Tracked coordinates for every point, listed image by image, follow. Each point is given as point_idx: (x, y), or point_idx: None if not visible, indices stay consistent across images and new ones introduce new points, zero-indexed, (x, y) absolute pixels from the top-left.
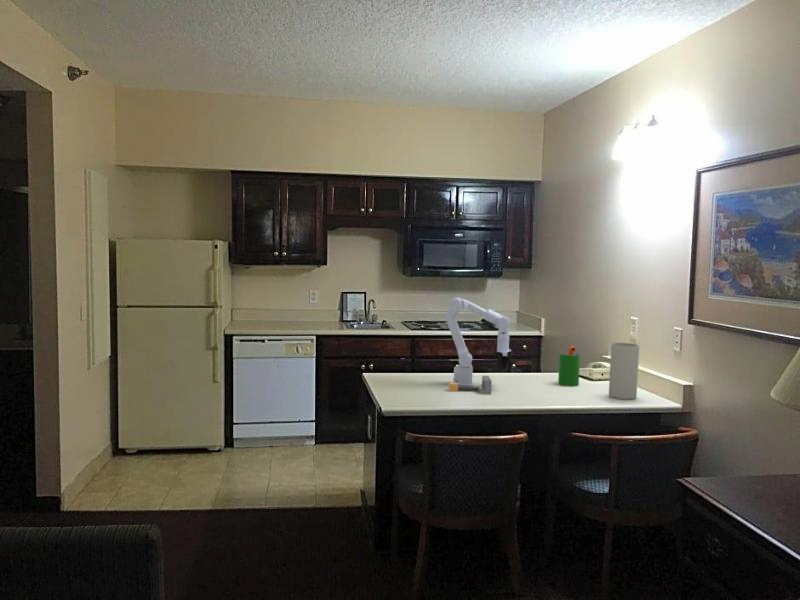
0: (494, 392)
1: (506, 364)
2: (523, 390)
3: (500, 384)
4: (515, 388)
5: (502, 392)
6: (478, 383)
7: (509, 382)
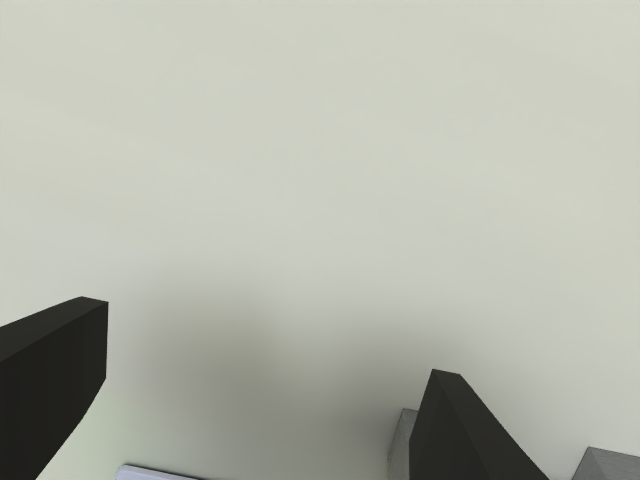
0: (587, 404)
1: (526, 466)
2: (583, 2)
3: (184, 198)
4: (435, 80)
5: (613, 326)
6: (142, 412)
7: (49, 24)
